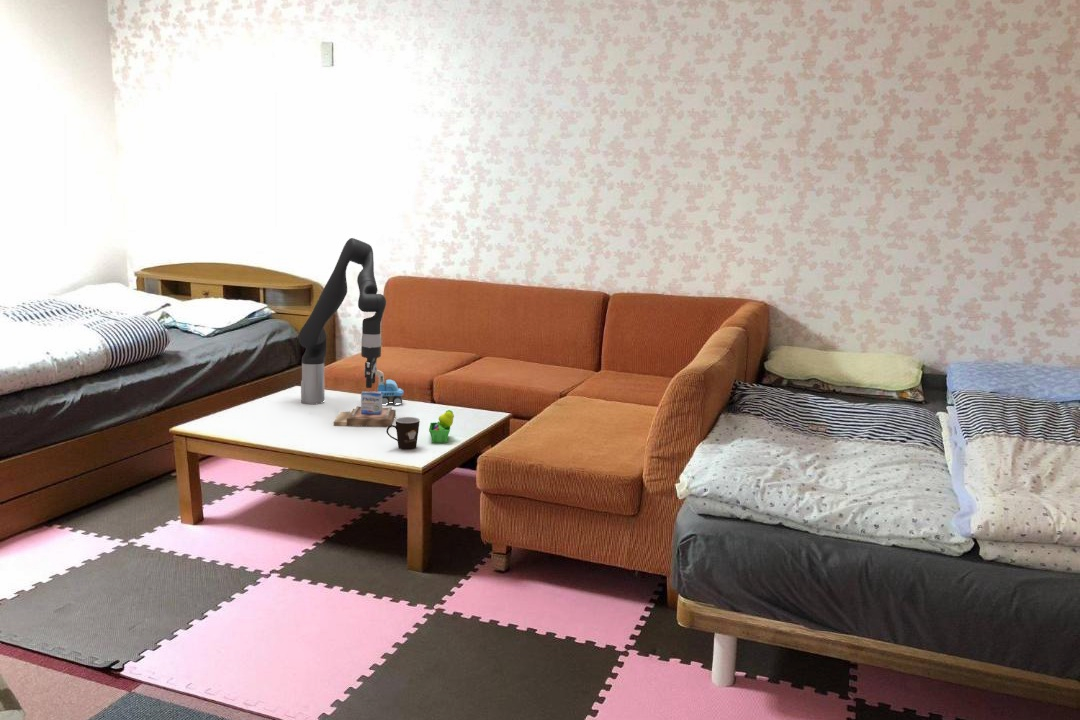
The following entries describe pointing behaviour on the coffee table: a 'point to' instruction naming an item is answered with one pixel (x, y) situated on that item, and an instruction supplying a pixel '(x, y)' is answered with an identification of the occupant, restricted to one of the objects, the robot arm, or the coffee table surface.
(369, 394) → the medicine box
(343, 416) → the tan shallow tray
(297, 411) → the coffee table surface
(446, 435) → the fruit basket
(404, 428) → the coffee mug
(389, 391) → the toy excavator
